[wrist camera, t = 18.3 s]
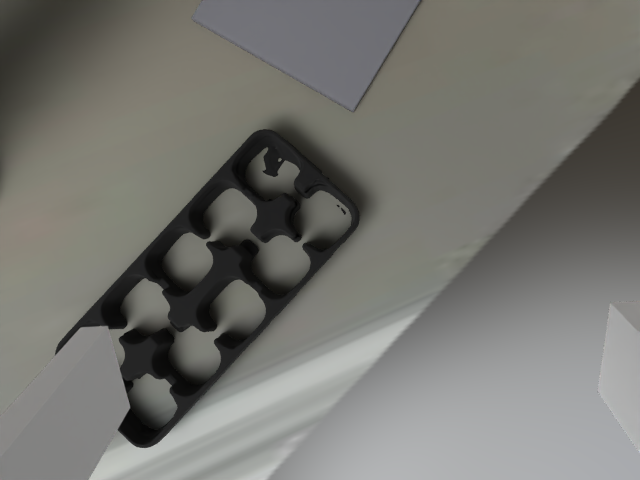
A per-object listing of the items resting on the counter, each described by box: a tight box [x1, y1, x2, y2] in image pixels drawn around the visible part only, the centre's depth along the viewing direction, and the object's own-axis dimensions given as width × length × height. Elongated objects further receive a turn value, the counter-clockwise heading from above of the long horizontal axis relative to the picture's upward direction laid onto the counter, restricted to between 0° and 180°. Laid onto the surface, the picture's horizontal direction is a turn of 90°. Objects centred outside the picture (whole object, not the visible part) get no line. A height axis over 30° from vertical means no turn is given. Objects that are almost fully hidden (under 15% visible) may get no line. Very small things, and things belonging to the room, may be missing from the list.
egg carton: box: [55, 129, 359, 448], centre depth 47 cm, size 18×30×4 cm, turn 149°
